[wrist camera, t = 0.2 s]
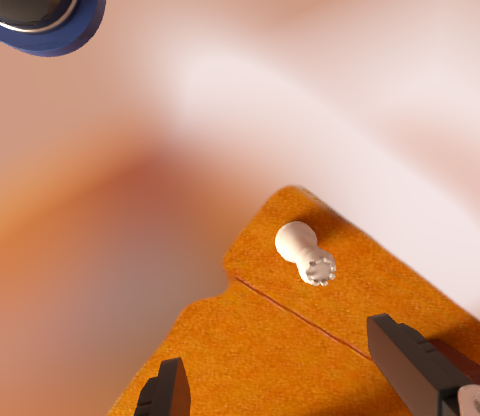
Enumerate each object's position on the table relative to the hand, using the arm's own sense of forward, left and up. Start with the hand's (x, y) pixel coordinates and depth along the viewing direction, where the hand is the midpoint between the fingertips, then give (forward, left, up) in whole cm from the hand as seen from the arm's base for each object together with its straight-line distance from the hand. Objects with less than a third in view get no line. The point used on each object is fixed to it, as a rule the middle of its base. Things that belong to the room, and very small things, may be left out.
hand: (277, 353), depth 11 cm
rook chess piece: (+3, +6, -18) cm, 20 cm away
